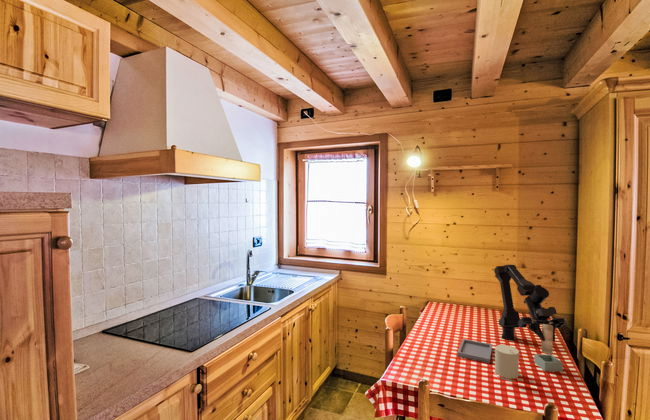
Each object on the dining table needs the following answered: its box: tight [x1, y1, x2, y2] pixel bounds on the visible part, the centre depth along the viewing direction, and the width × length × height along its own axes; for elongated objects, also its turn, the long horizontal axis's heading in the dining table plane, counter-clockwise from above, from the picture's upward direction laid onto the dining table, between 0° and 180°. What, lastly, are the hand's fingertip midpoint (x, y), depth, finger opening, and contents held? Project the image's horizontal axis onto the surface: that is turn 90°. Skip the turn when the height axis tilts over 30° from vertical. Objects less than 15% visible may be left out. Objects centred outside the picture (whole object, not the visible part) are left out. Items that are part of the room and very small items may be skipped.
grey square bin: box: [533, 353, 564, 372], centre depth 148 cm, size 8×8×5 cm
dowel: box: [541, 324, 554, 355], centre depth 148 cm, size 4×4×12 cm
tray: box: [457, 338, 493, 364], centre depth 165 cm, size 18×14×2 cm
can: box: [494, 344, 520, 382], centre depth 143 cm, size 9×9×12 cm
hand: (549, 341), depth 146 cm, fingers closed on dowel, 4 cm apart
